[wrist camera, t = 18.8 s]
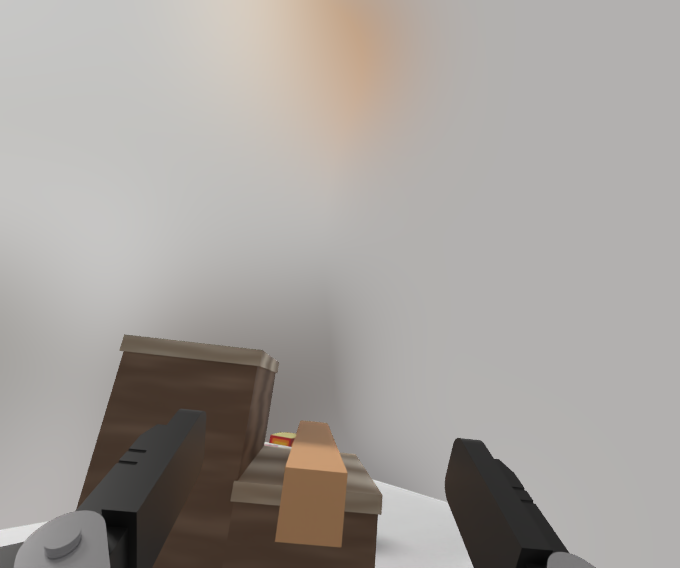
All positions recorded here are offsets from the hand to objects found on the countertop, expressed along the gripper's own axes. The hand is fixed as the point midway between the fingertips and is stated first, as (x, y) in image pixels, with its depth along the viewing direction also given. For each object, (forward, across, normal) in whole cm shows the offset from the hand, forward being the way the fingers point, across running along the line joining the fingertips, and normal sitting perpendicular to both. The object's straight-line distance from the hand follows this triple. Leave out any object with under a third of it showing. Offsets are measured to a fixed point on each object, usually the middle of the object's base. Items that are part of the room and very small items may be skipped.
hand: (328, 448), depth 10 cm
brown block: (+12, 0, +13) cm, 18 cm away
